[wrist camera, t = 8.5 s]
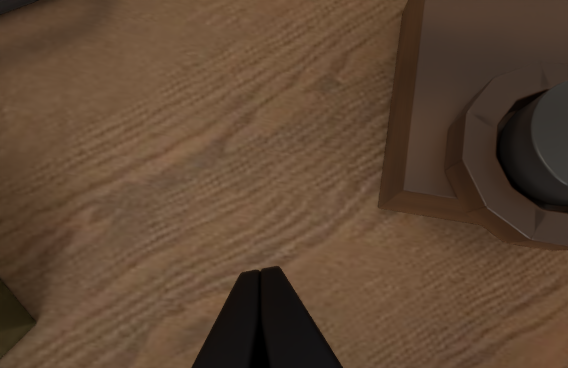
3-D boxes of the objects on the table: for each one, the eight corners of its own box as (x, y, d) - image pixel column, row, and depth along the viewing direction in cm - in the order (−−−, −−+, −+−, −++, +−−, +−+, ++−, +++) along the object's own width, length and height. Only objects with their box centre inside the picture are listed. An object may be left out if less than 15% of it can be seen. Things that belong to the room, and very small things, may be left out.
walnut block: (569, 267, 19) (717, 270, 12) (374, 234, 20) (411, 220, 13) (574, 35, 22) (699, -69, 15) (402, 14, 23) (445, -93, 16)
